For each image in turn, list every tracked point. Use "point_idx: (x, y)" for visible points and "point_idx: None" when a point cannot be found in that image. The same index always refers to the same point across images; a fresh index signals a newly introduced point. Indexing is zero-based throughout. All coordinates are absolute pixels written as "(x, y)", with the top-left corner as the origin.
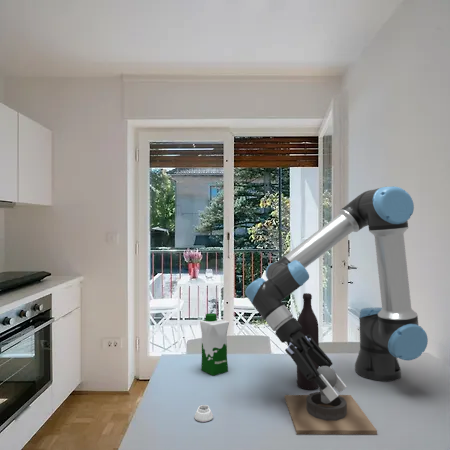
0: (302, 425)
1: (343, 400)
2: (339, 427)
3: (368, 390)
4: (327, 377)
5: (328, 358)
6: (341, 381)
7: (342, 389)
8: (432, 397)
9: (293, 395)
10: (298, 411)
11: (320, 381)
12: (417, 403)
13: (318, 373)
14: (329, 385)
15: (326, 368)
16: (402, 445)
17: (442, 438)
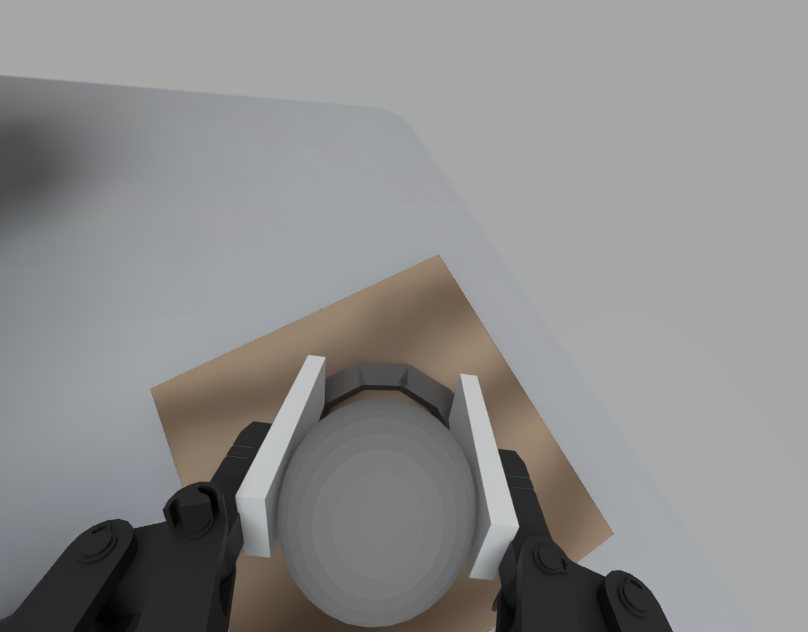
0: (562, 523)
1: (343, 380)
2: (489, 373)
3: (35, 328)
4: (465, 461)
5: (62, 579)
6: (307, 383)
7: (323, 381)
8: (57, 112)
9: None
10: (452, 595)
11: (537, 504)
12: (132, 155)
13: (549, 553)
14: (487, 430)
15: (416, 501)
16: (459, 196)
17: (364, 111)
